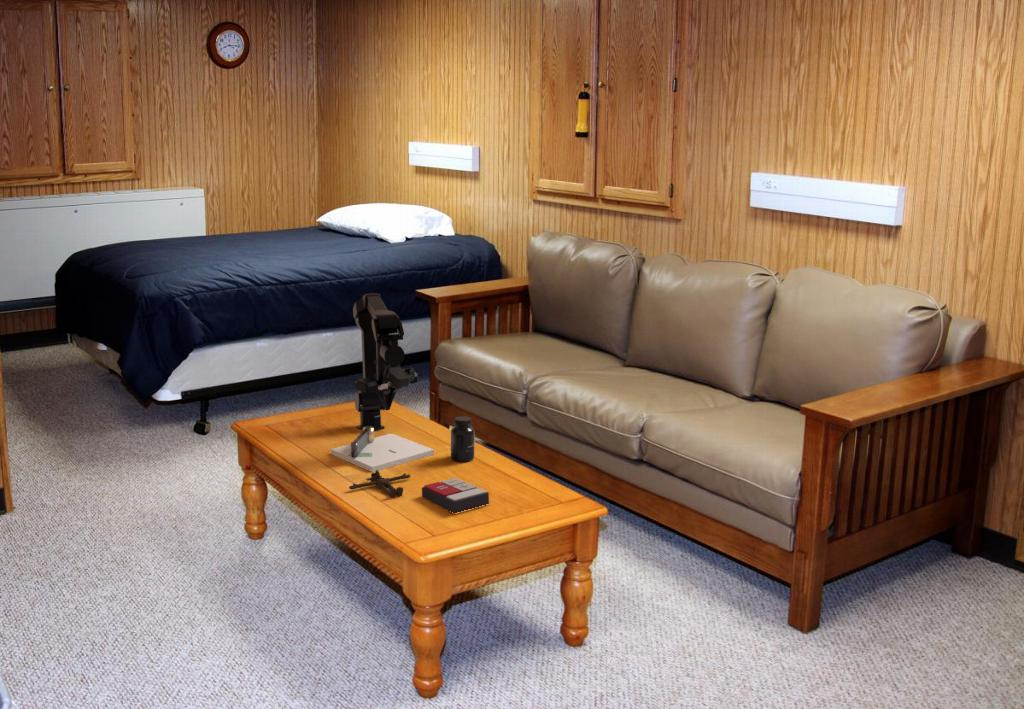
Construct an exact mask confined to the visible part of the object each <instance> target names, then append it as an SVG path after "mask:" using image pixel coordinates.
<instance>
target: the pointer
mask: <svg viewBox="0 0 1024 709" xmlns="http://www.w3.org/2000/svg"><path fill="white" fill-rule="evenodd" d="M374 438H375V431H374V427H372V426H365V427H363V430H362V432H361V433H360V434H359V435H358V436H357V437H356V438H355V439H354V440H353V441H351V442H350V444H351V457H358V454H359V453H360V452H361V451H362V450H363V449H364V448H365V447H366V445H367V444H368V443H369V442H373V441H374Z"/></svg>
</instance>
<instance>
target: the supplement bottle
mask: <svg viewBox="0 0 1024 709" xmlns="http://www.w3.org/2000/svg"><path fill="white" fill-rule="evenodd" d="M453 424H454V426H453V427H452V428H451V430H450V458H451V460H452V461H454V462H458V463H467V462H471V461H473V460H474V458H475V446H476V445H475V443H476V442H475V441H476V440H475V439H476V437H475V435H476V432H475V429H474V427H472V418H471V417H469V416H456V417H454V423H453Z"/></svg>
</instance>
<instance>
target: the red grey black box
mask: <svg viewBox="0 0 1024 709" xmlns="http://www.w3.org/2000/svg"><path fill="white" fill-rule="evenodd" d="M489 494H490V493H489V492H488V491H487V490H484V489H482V488H479V487H478V486H476V485H474V484H473V483H472V484H471V483H469V482H466V481H464V480H462V479H459V478H458V477H453V478H448V479H444V480H441V481H437V482H433V483H429V484H425V485H423V486H422V487H421V498H423V499H424V500H426V499H427V501H428V500H429V501H428V502H430V501H431V502H430V503H432V502H433V503H432V504H434V503H435V504H434V505H436V504H437V505H436V506H438V505H439V506H438V507H440V506H441V507H440V508H442V507H443V509H444V508H445V509H447V510H448V511H447V510H446V511H447V512H449V511H451V512H453V513H457V512H461V511H464V510H468V509H472V508H475V507H479V506H482V505H486V504H489V505H490V500H489V499H490V495H489ZM445 509H444V510H445Z"/></svg>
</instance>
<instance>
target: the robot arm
mask: <svg viewBox="0 0 1024 709" xmlns="http://www.w3.org/2000/svg"><path fill="white" fill-rule="evenodd" d="M352 312H353V313H352V316H353V318H354V320H355V324H356V326H357V327H358V328H359V330H360V333H361V334H360V335H361V352H362V353H361V355H362V357H361V358H362V377H363V378H359V379H356V381H355V383H354V390H356V391H358V392H357V393H356V396H355V400H354V406H355V410H356V411H357V413H360V414H359V415H360V416H359V418H360V419H359V420H360V423H359V424H360V425H356V427H355V428H357V429H359V430H361V431H363V427H365V426H372V427H374V432H375V431H378V430H383V429H385V426H384V425H382V416H381V411H390V410H391V408H392V404H393V401H394V398H395V396H396V394H397V392H398V391H399V390H400V389H403V388H406V387H409V386H410V385H412V384H416V383H419V375H418V373H417V372H416V371H415V369H414V368H413V367H411V366H410V367H407V368H401V364H402V363H403V362H404V360H405V357H406V355H405V350H404V349H403V347H401V346H400V345H399V341H402V340H404V336H405V329H404V327H403V322H402V320H401V317H400V316H398V314H397V312H395V311H392V310H388V308H387V306H386V305H385V302H384V301H383V299H382V295H381V294H380V293H376V292H375V293H365V294H363V295H362V298H359V300H357V301H355V302H354V305H353V307H352Z"/></svg>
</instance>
